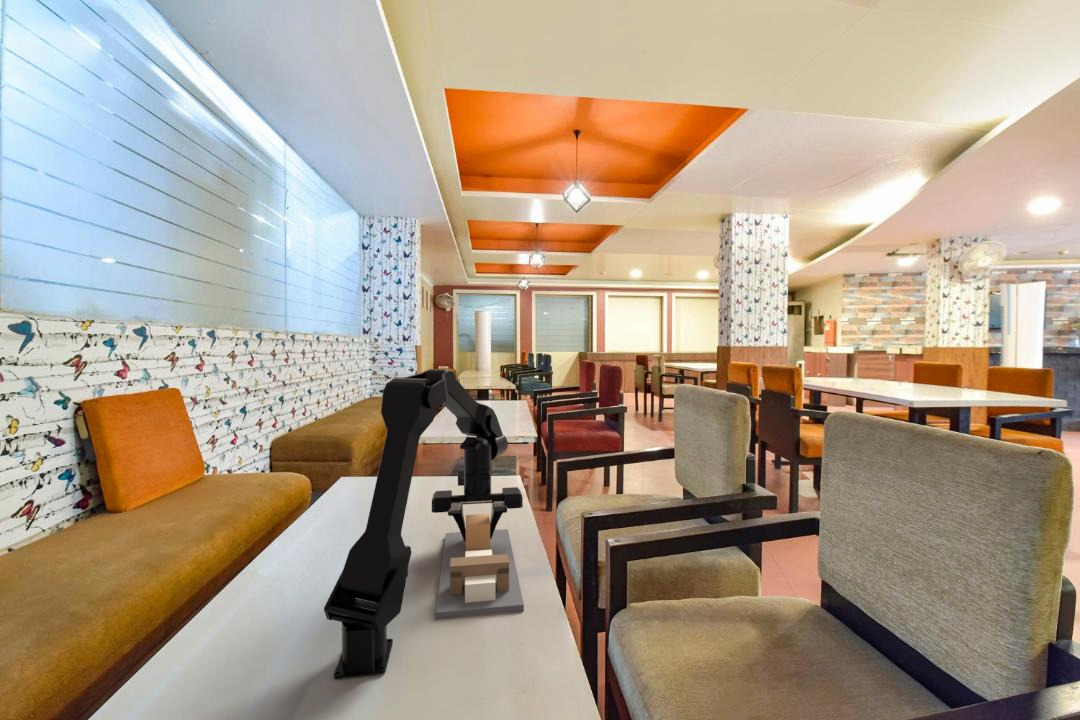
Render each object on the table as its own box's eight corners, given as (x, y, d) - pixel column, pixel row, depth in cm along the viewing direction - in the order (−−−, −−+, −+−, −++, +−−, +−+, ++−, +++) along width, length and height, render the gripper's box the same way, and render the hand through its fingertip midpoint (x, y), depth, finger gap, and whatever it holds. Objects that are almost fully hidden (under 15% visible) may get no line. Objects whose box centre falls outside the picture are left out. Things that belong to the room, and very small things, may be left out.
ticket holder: (523, 610, 72) (523, 574, 72) (436, 618, 70) (435, 581, 70) (507, 533, 102) (507, 507, 102) (445, 537, 100) (445, 511, 100)
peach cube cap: (490, 548, 92) (490, 524, 92) (465, 550, 91) (465, 526, 91) (488, 536, 98) (488, 513, 98) (465, 537, 97) (465, 515, 97)
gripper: (517, 455, 103) (517, 521, 104) (435, 458, 100) (435, 526, 101) (523, 468, 92) (522, 542, 93) (431, 472, 89) (431, 548, 90)
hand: (477, 539), depth 94 cm, fingers closed on peach cube cap, 5 cm apart
